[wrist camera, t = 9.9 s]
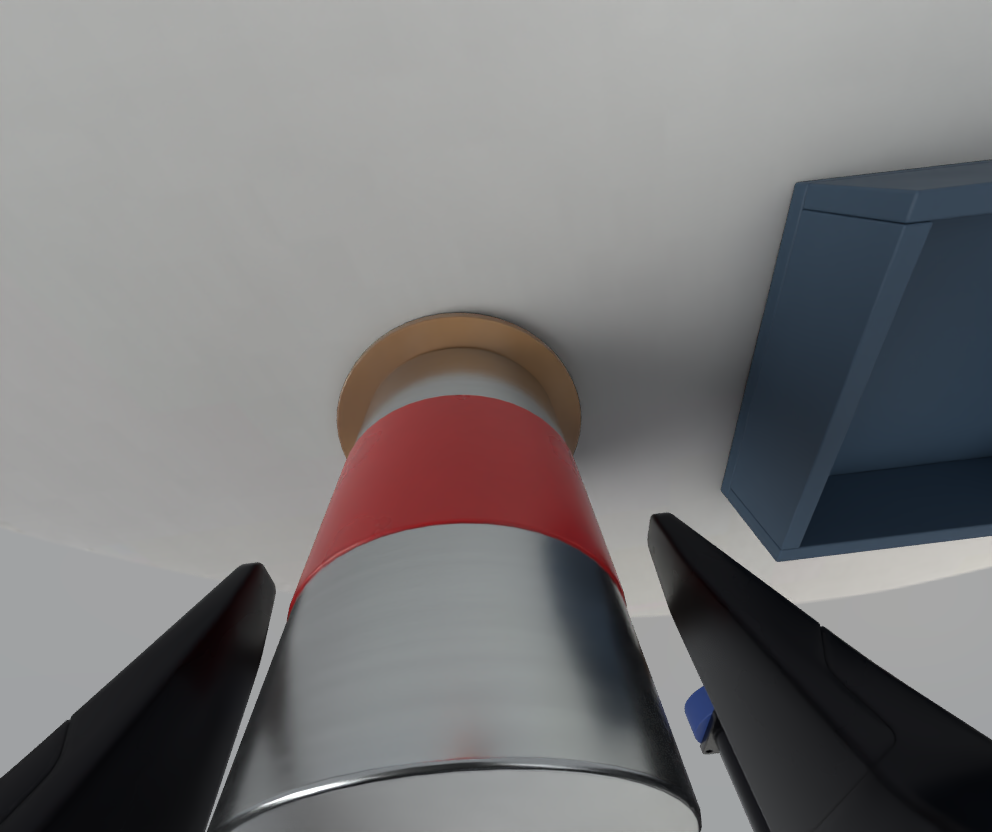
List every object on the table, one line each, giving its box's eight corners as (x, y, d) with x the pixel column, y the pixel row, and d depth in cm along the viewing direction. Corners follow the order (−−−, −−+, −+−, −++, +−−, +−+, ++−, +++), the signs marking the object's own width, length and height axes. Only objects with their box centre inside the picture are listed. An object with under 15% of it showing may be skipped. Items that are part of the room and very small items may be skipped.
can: (558, 494, 16) (674, 899, 7) (389, 514, 16) (300, 946, 7) (554, 333, 12) (763, 727, 4) (339, 358, 12) (56, 815, 4)
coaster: (578, 501, 16) (580, 508, 16) (373, 525, 16) (371, 533, 16) (579, 296, 12) (582, 300, 12) (304, 329, 12) (300, 334, 12)
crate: (986, 458, 17) (1101, 523, 14) (719, 490, 17) (776, 562, 14) (1196, 135, 11) (1468, 126, 8) (794, 182, 11) (918, 190, 8)
